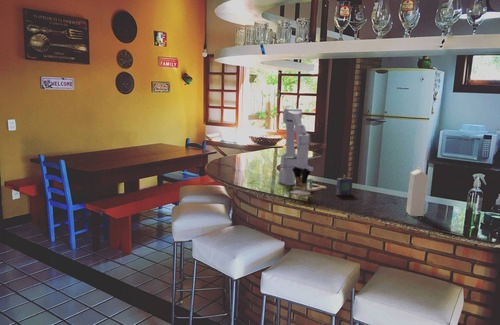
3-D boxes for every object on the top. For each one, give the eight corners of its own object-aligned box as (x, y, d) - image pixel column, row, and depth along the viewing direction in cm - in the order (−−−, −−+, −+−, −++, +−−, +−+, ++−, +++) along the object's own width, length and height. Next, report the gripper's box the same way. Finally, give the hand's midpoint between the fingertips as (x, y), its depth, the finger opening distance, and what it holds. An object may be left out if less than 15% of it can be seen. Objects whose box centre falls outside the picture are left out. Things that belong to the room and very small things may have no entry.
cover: (295, 186, 220) (295, 176, 220) (301, 185, 224) (302, 175, 223) (305, 189, 214) (306, 179, 213) (312, 188, 217) (312, 178, 217)
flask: (337, 195, 209) (338, 175, 207) (334, 194, 211) (335, 174, 210) (352, 195, 212) (354, 175, 210) (349, 193, 214) (350, 174, 213)
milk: (409, 216, 177) (414, 168, 173) (405, 212, 183) (410, 165, 179) (423, 217, 176) (429, 168, 172) (419, 213, 182) (424, 166, 178)
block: (295, 186, 210) (296, 176, 210) (301, 185, 213) (301, 176, 212) (301, 187, 207) (301, 178, 207) (306, 186, 210) (307, 177, 209)
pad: (289, 192, 211) (289, 191, 211) (300, 190, 216) (300, 189, 216) (300, 195, 205) (300, 194, 205) (310, 194, 210) (310, 192, 210)
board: (293, 188, 221) (293, 186, 221) (313, 185, 231) (313, 183, 231) (306, 192, 213) (306, 190, 213) (326, 188, 224) (326, 186, 224)
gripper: (287, 155, 210) (286, 180, 213) (307, 159, 199) (305, 185, 201) (296, 154, 215) (295, 179, 217) (316, 158, 204) (315, 184, 206)
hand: (300, 182), depth 209 cm, fingers closed on block, 4 cm apart
